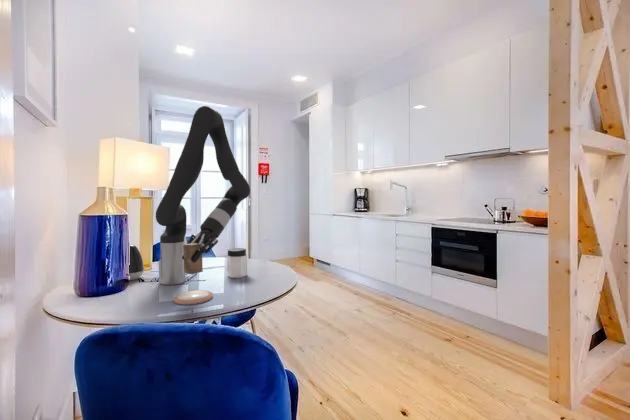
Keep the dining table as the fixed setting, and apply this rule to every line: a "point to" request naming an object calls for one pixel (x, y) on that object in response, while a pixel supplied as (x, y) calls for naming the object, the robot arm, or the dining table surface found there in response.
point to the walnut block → (188, 264)
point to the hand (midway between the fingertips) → (188, 260)
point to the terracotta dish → (193, 297)
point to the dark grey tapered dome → (135, 263)
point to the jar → (236, 263)
